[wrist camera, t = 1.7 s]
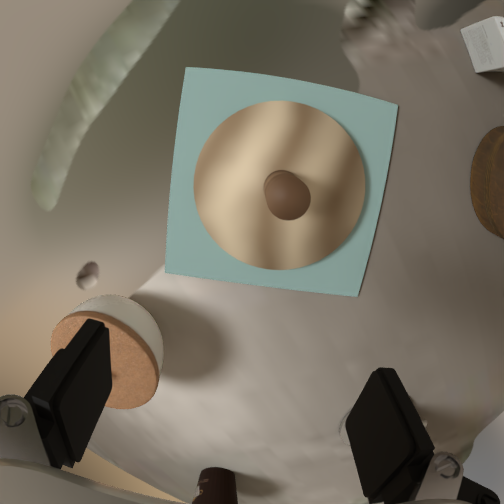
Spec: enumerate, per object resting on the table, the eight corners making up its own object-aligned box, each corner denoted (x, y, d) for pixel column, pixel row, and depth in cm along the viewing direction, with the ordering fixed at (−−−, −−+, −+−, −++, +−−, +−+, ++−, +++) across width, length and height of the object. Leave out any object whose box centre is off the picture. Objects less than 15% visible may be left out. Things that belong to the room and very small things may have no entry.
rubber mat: (396, 105, 29) (397, 105, 29) (356, 295, 36) (357, 296, 36) (186, 67, 28) (186, 67, 28) (165, 271, 35) (164, 272, 35)
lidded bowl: (71, 280, 36) (24, 325, 25) (163, 274, 35) (131, 326, 25) (99, 361, 40) (69, 415, 30) (183, 362, 40) (167, 425, 29)
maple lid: (373, 120, 29) (404, 117, 23) (342, 274, 35) (362, 305, 28) (206, 92, 29) (194, 78, 22) (188, 254, 34) (174, 283, 27)
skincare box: (474, 73, 27) (512, 67, 20) (458, 28, 25) (493, 14, 18) (503, 72, 26) (540, 67, 20) (489, 29, 25) (523, 19, 18)
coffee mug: (218, 459, 47) (215, 506, 38) (250, 477, 49) (250, 521, 40) (174, 474, 50) (167, 516, 40) (206, 491, 52) (202, 530, 42)
